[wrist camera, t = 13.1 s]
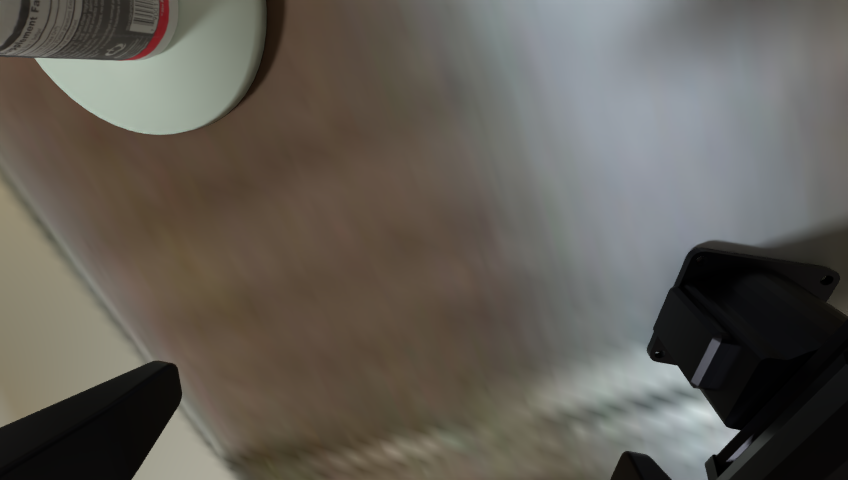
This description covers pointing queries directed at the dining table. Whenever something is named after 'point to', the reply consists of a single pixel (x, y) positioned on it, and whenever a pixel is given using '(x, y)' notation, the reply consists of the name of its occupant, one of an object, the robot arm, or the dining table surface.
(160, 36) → the pill bottle
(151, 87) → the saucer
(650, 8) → the dining table surface
